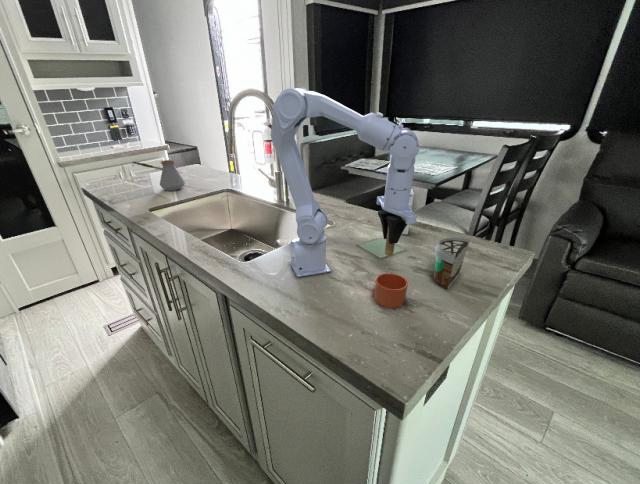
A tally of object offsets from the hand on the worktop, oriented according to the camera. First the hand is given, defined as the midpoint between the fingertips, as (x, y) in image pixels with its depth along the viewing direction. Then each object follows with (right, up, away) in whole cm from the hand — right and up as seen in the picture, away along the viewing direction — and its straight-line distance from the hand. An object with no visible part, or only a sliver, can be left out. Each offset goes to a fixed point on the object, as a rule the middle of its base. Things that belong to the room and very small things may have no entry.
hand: (390, 240), depth 80 cm
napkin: (+2, -1, +19) cm, 19 cm away
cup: (-1, -14, -4) cm, 15 cm away
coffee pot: (-89, +30, +73) cm, 119 cm away
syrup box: (+11, +6, +31) cm, 33 cm away
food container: (+15, -10, +4) cm, 18 cm away
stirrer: (0, -3, +2) cm, 4 cm away
